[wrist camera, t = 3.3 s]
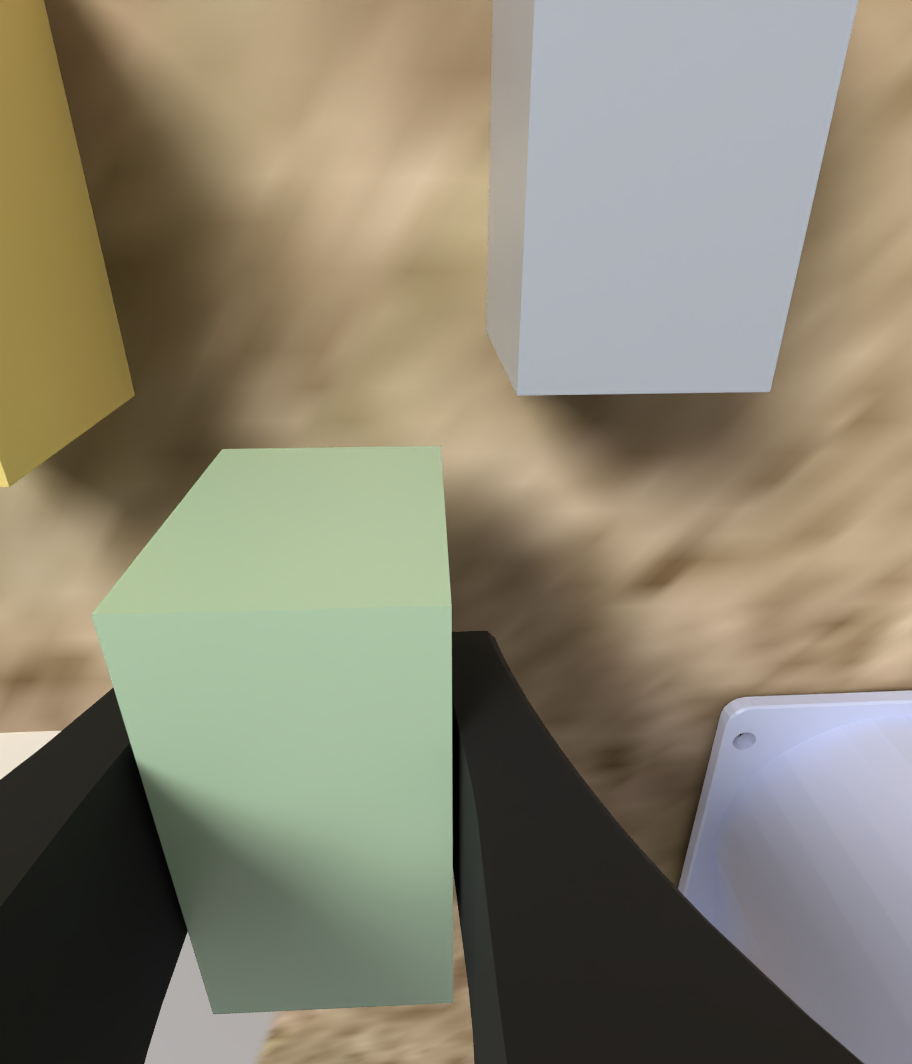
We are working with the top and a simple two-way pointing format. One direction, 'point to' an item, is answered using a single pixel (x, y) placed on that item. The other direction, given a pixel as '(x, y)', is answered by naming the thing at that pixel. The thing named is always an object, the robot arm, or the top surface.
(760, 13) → the grey brick
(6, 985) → the robot arm
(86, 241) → the mustard brick
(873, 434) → the top surface
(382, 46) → the top surface
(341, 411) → the top surface
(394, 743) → the green brick
